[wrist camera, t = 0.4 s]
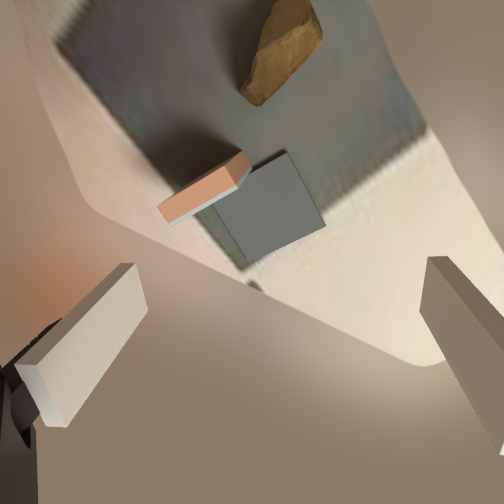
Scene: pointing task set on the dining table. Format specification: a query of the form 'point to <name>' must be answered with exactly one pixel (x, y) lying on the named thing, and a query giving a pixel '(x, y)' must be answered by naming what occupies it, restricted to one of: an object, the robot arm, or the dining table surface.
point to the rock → (282, 48)
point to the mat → (269, 209)
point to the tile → (206, 189)
